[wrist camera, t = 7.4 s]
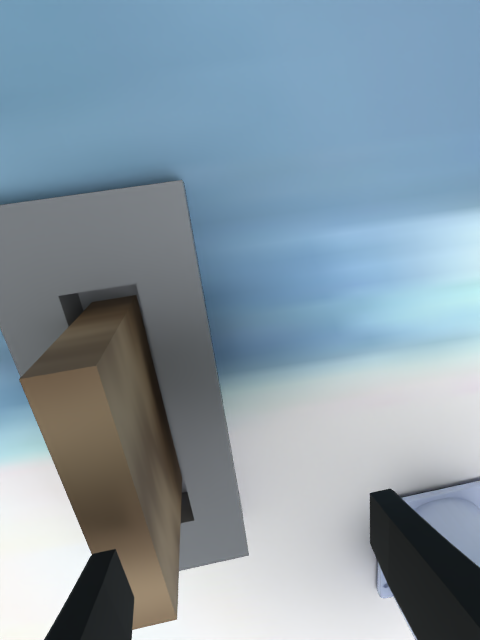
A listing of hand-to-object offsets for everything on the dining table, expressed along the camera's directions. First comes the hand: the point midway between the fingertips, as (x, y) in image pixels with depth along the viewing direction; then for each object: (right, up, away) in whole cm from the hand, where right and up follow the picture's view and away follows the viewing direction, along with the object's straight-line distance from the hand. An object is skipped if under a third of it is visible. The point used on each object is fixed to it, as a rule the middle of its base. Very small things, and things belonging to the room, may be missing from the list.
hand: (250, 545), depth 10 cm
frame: (-5, +2, +8) cm, 10 cm away
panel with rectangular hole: (-5, +2, +8) cm, 10 cm away
